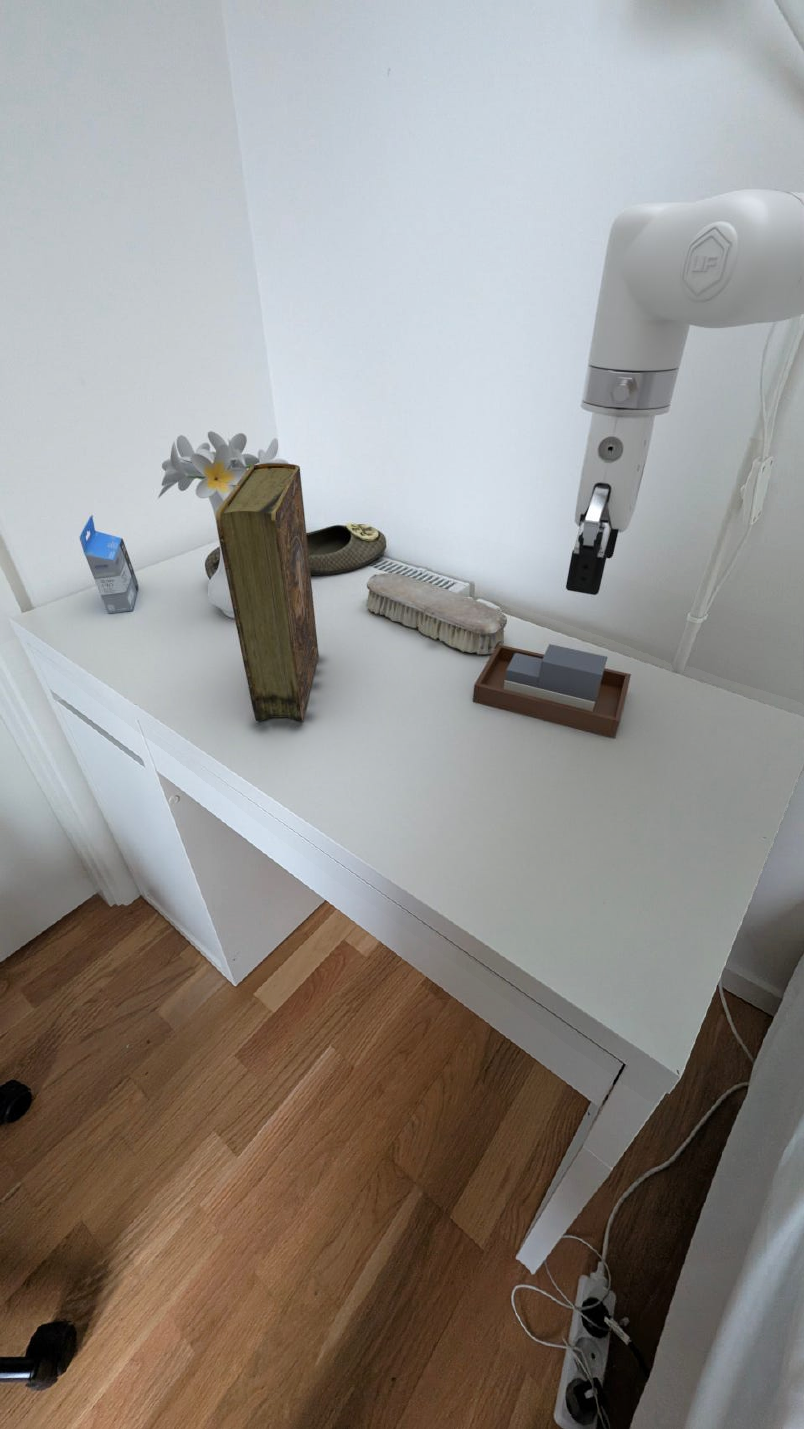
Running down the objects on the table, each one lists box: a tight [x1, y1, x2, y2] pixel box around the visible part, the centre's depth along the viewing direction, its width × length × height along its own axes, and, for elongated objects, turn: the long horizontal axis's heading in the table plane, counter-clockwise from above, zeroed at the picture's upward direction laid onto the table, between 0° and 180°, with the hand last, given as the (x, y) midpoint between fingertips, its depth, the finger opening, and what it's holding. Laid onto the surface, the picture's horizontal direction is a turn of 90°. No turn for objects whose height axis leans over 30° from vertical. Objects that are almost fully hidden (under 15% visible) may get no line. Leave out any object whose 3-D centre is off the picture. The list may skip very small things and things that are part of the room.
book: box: [215, 463, 320, 723], centre depth 66 cm, size 16×6×25 cm, turn 179°
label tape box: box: [79, 514, 139, 614], centre depth 88 cm, size 9×4×12 cm, turn 13°
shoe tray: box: [472, 644, 632, 739], centre depth 72 cm, size 17×10×3 cm, turn 66°
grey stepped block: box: [503, 643, 608, 711], centre depth 71 cm, size 11×4×6 cm, turn 66°
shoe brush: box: [366, 572, 508, 655], centre depth 85 cm, size 24×8×5 cm, turn 51°
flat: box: [204, 522, 387, 580], centre depth 99 cm, size 11×33×8 cm, turn 117°
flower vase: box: [157, 430, 290, 619], centre depth 83 cm, size 13×18×25 cm
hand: (590, 572), depth 61 cm, fingers open, 9 cm apart
